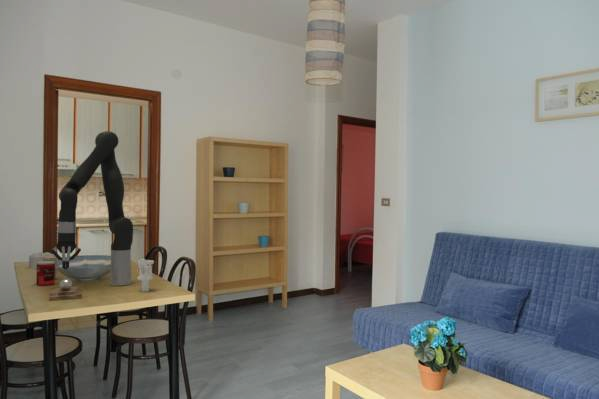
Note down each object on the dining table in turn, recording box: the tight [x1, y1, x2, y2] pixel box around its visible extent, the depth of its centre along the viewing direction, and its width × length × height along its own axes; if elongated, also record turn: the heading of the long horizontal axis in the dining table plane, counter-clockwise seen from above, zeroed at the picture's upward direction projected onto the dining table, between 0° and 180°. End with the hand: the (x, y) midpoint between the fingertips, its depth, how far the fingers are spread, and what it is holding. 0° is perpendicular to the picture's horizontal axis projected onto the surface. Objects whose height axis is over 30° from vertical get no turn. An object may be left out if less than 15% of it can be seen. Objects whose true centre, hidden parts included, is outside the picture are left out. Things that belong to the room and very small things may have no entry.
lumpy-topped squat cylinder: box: [28, 251, 55, 270], centre depth 274 cm, size 10×13×9 cm
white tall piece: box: [137, 258, 155, 293], centre depth 214 cm, size 7×7×15 cm
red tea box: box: [42, 256, 58, 280], centre depth 236 cm, size 6×8×12 cm
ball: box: [59, 278, 73, 290], centre depth 206 cm, size 5×5×5 cm
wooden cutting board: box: [48, 285, 82, 302], centre depth 203 cm, size 12×20×2 cm, turn 26°
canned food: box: [36, 261, 56, 287], centre depth 224 cm, size 8×8×11 cm
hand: (65, 269), depth 212 cm, fingers closed
